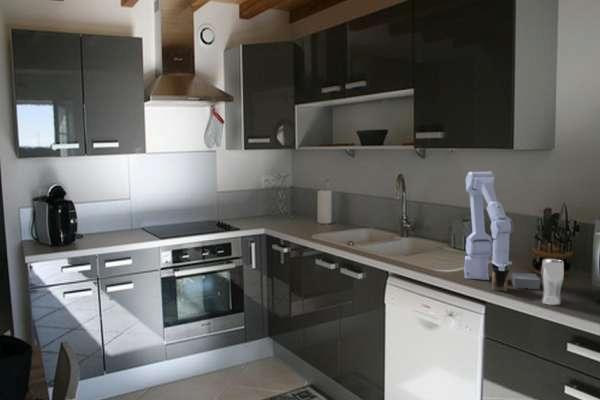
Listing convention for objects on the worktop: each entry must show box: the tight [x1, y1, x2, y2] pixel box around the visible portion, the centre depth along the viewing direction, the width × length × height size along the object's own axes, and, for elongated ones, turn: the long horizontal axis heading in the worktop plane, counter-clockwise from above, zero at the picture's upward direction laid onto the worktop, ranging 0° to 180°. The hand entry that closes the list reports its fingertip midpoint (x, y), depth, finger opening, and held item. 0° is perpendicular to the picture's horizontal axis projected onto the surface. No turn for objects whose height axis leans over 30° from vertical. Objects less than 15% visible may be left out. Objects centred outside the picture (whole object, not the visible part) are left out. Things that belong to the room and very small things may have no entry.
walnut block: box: [491, 271, 509, 292], centre depth 197 cm, size 5×5×6 cm
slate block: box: [510, 272, 541, 290], centre depth 202 cm, size 9×9×4 cm
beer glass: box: [540, 258, 565, 306], centre depth 179 cm, size 7×7×15 cm
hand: (499, 284), depth 197 cm, fingers closed on walnut block, 5 cm apart
